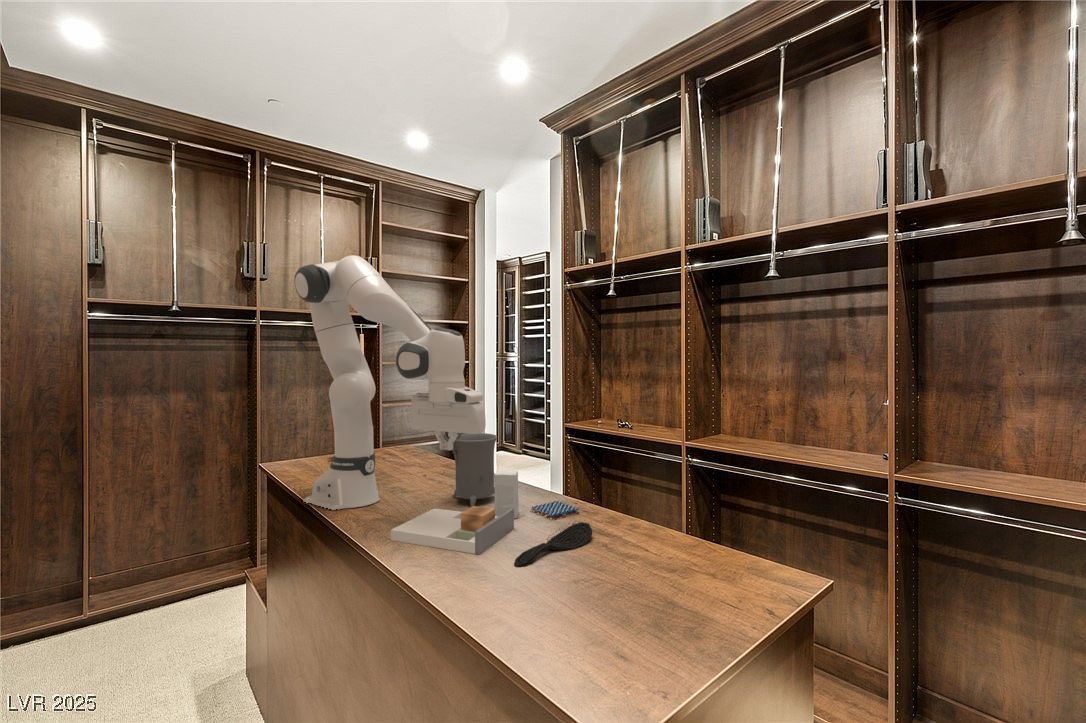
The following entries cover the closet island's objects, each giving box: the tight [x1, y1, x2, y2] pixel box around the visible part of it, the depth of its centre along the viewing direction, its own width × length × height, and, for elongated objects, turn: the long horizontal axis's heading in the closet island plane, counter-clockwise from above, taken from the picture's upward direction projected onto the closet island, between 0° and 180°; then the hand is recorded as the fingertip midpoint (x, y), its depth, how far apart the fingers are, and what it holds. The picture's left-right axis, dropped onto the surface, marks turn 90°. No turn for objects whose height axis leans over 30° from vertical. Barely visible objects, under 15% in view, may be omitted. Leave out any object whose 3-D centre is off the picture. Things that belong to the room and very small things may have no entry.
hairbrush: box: [513, 519, 593, 568], centre depth 115 cm, size 8×4×25 cm
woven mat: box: [530, 500, 581, 521], centre depth 142 cm, size 10×11×2 cm
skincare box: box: [494, 470, 520, 520], centre depth 139 cm, size 6×4×12 cm
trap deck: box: [390, 508, 515, 555], centre depth 125 cm, size 24×18×5 cm
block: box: [461, 506, 495, 532], centre depth 123 cm, size 6×6×4 cm
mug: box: [443, 432, 498, 508], centre depth 153 cm, size 19×15×25 cm
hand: (446, 449), depth 126 cm, fingers closed
